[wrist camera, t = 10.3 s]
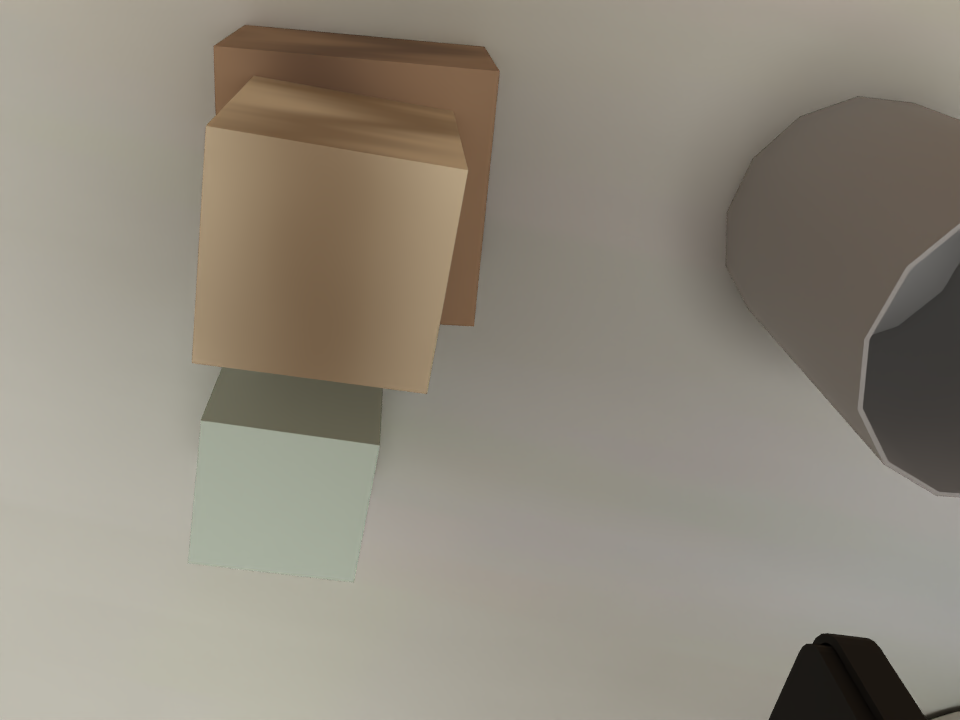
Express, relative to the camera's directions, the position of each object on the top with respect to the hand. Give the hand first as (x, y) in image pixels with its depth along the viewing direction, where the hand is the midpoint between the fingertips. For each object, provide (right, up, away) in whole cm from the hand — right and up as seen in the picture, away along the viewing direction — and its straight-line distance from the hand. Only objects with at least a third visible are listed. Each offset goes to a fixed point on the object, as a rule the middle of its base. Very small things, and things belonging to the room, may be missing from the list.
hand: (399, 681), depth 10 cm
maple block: (-3, +8, +13) cm, 16 cm away
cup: (+13, +8, +20) cm, 26 cm away
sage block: (-5, +2, +22) cm, 22 cm away
